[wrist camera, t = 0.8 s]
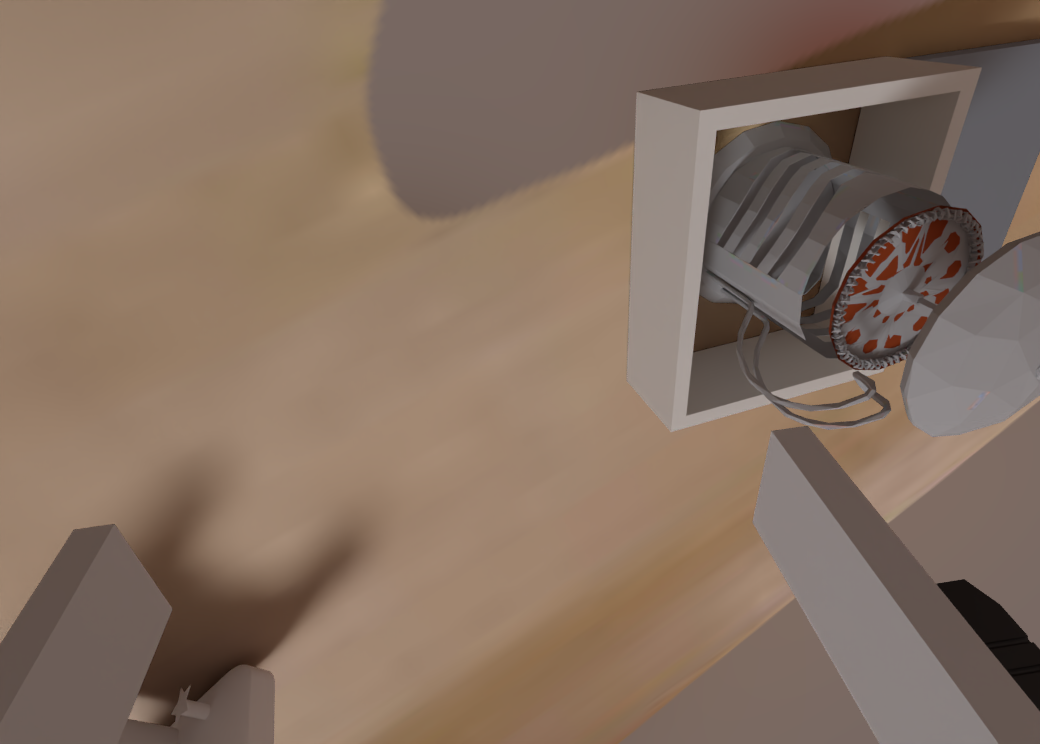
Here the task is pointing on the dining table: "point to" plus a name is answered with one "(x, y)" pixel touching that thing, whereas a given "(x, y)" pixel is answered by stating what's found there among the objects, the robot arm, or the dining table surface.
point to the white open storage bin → (685, 200)
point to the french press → (873, 281)
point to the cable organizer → (217, 714)
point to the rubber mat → (995, 135)
